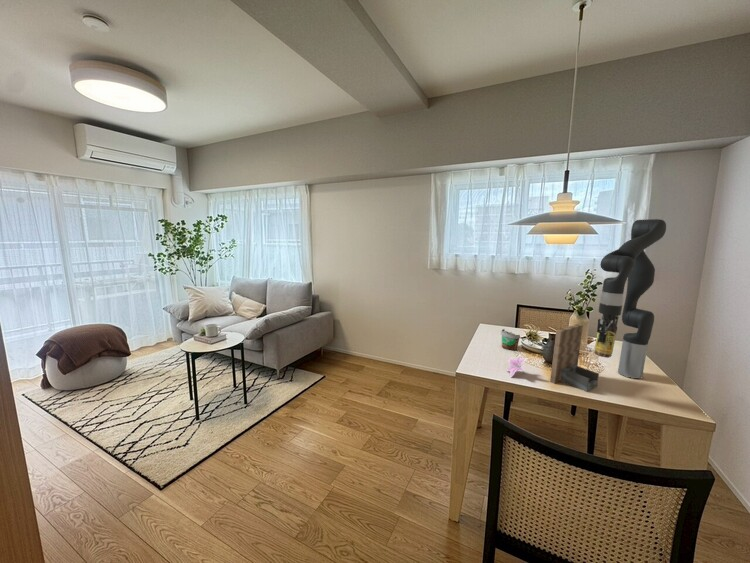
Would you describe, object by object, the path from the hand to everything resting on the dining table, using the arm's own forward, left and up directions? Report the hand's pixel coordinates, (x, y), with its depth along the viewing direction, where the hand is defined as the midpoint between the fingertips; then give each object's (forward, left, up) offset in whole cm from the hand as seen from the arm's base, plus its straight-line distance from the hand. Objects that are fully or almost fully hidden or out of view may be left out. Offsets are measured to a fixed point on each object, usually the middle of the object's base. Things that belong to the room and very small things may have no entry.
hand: (605, 340), depth 128 cm
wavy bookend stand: (+1, -8, -23) cm, 25 cm away
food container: (-8, -51, -23) cm, 57 cm away
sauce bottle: (0, 0, -7) cm, 7 cm away
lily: (+18, -28, -23) cm, 41 cm away
